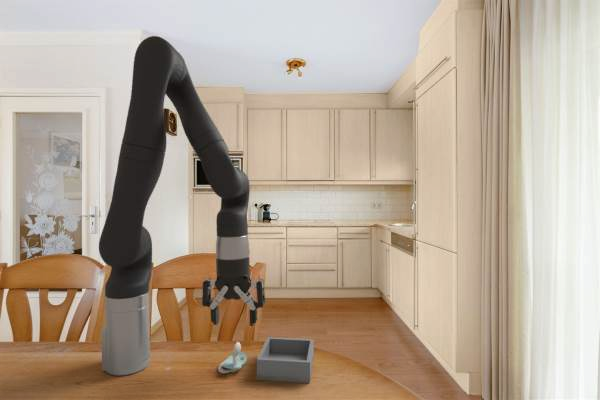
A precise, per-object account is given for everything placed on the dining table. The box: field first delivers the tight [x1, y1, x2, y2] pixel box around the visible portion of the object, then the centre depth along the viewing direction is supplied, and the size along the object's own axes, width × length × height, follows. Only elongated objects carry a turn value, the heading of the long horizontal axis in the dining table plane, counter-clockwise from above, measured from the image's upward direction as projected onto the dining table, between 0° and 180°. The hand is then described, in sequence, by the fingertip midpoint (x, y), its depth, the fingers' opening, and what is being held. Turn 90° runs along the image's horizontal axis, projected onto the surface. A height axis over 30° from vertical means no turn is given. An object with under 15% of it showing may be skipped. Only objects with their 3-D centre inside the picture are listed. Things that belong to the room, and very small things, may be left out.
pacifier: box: [217, 341, 248, 374], centre depth 83 cm, size 7×6×6 cm
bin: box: [256, 336, 315, 384], centre depth 83 cm, size 12×12×4 cm
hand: (234, 324), depth 82 cm, fingers open, 8 cm apart
